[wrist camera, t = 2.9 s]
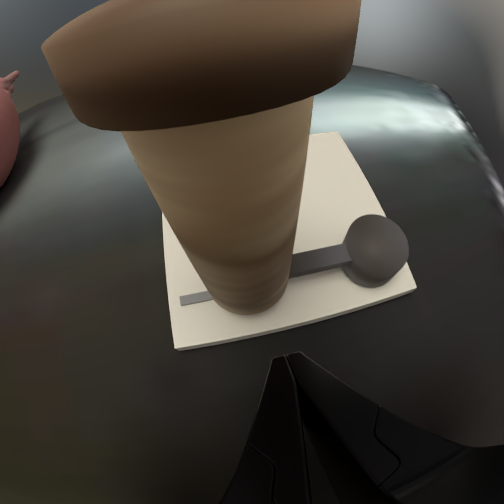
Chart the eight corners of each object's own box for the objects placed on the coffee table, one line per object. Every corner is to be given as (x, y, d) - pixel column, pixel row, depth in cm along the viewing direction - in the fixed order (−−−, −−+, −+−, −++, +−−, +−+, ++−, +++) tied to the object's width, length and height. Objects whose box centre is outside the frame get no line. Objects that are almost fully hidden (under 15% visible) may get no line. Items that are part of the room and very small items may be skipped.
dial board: (335, 140, 21) (337, 129, 20) (409, 292, 15) (418, 286, 14) (165, 171, 21) (160, 161, 20) (180, 350, 15) (173, 347, 14)
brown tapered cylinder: (378, 215, 16) (461, 8, 4) (409, 291, 14) (575, 101, 2) (195, 251, 16) (92, 5, 4) (207, 341, 14) (-21, 107, 2)
